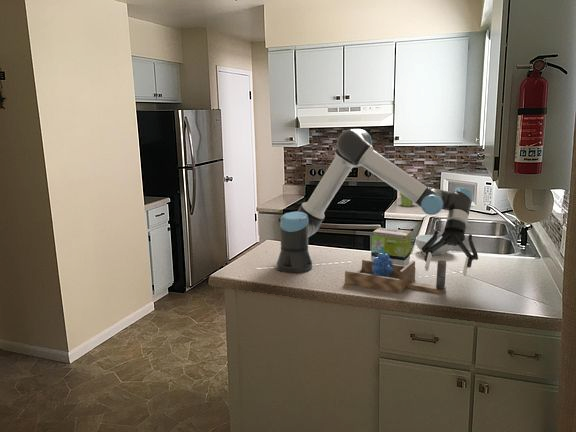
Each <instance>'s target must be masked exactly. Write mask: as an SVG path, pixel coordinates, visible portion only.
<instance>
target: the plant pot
mask: <svg viewBox="0 0 576 432" xmlns="http://www.w3.org/2000/svg"><path fill="white" fill-rule="evenodd" d="M399 196H400V202H401V206H402V207H404V208H405V207H408V208H409V207H413V203H414V202H413V201H412V200H410V199H409V198H407V197H406V196H404V195H403V194H402V193H400V192H399Z"/></svg>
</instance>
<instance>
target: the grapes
mask: <svg viewBox="0 0 576 432" xmlns="http://www.w3.org/2000/svg"><path fill="white" fill-rule="evenodd" d="M389 258H390V257H389V255H388V254H383V253H379V254H378V258H377V257H376V258H374V260H373V262H374V264H375V265H373V266H372V271H373V272H375V273H374V274H373V275H377V276H383V277H389V278H391V276H390V275H389V274H391V273H392V272H393V269H392V267H390V266H392V264H393V262H392V260H391V259H389Z"/></svg>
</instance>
